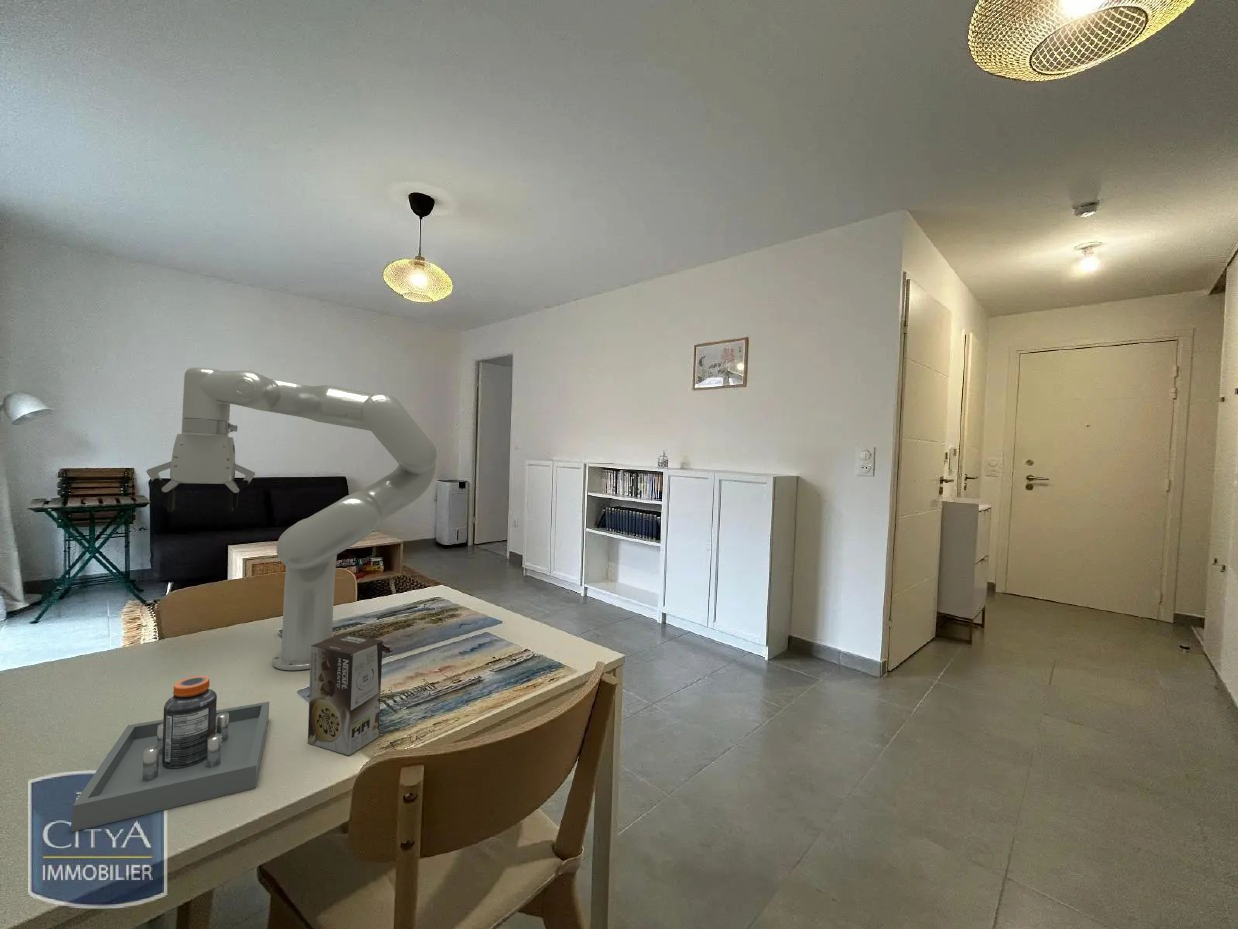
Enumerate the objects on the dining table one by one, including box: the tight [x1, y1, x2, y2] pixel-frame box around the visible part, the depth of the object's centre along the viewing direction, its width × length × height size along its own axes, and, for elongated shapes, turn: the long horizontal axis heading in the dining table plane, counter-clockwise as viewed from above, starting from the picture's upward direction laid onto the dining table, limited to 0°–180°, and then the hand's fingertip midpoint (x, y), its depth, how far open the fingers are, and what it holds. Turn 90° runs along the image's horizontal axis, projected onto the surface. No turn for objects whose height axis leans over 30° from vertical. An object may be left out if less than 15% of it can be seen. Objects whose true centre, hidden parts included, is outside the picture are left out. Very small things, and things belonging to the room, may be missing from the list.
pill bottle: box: [162, 675, 218, 768], centre depth 73 cm, size 6×6×11 cm
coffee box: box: [307, 633, 384, 756], centre depth 82 cm, size 9×6×16 cm
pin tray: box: [71, 701, 270, 833], centre depth 73 cm, size 18×20×5 cm
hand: (201, 511), depth 103 cm, fingers open, 9 cm apart
